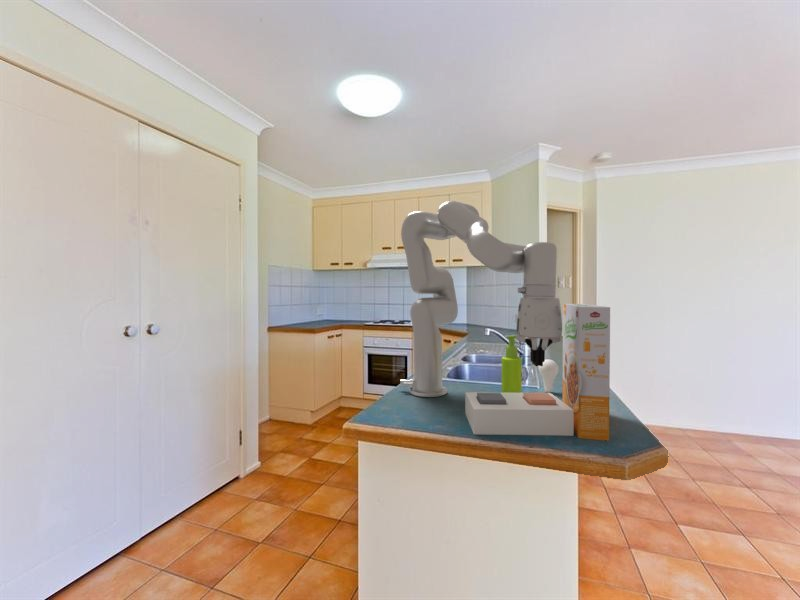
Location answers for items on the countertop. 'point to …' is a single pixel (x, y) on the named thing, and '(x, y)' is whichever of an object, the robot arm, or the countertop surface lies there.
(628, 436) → the countertop surface
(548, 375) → the lightbulb
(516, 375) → the soap dispenser
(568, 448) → the countertop surface
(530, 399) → the key terracotta
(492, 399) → the key charcoal
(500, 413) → the key panel
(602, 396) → the cereal box
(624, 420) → the countertop surface
